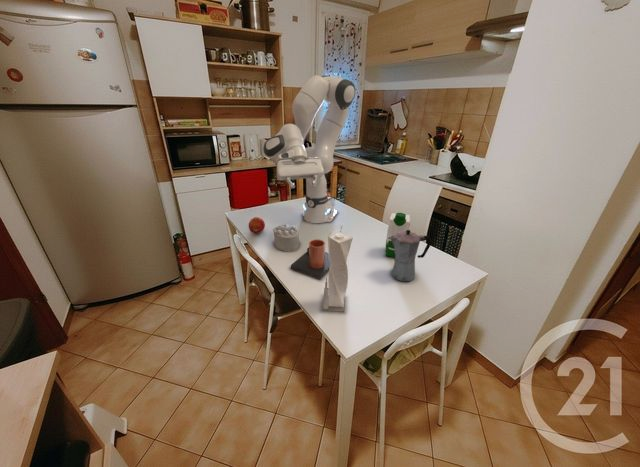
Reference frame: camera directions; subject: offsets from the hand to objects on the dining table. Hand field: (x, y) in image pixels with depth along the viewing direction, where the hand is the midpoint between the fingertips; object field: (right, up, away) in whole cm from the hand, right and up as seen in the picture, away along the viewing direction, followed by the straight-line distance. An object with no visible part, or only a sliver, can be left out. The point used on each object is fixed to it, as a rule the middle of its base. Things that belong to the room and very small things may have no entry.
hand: (304, 186), depth 109 cm
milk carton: (+40, -29, +9) cm, 50 cm away
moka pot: (+40, -36, -5) cm, 54 cm away
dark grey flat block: (+5, -33, +1) cm, 33 cm away
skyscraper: (+12, -44, -19) cm, 49 cm away
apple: (-26, -19, +27) cm, 42 cm away
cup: (+5, -32, -2) cm, 33 cm away
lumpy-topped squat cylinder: (-9, -25, +16) cm, 31 cm away
